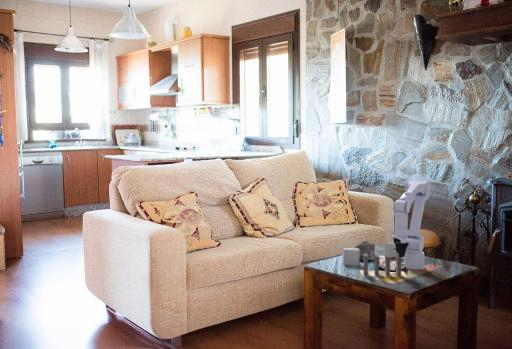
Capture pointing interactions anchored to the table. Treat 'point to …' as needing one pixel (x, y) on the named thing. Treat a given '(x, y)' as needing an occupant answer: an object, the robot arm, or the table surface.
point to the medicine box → (351, 256)
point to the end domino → (365, 264)
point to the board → (383, 274)
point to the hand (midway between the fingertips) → (400, 255)
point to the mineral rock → (366, 250)
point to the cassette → (388, 249)
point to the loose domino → (398, 265)
